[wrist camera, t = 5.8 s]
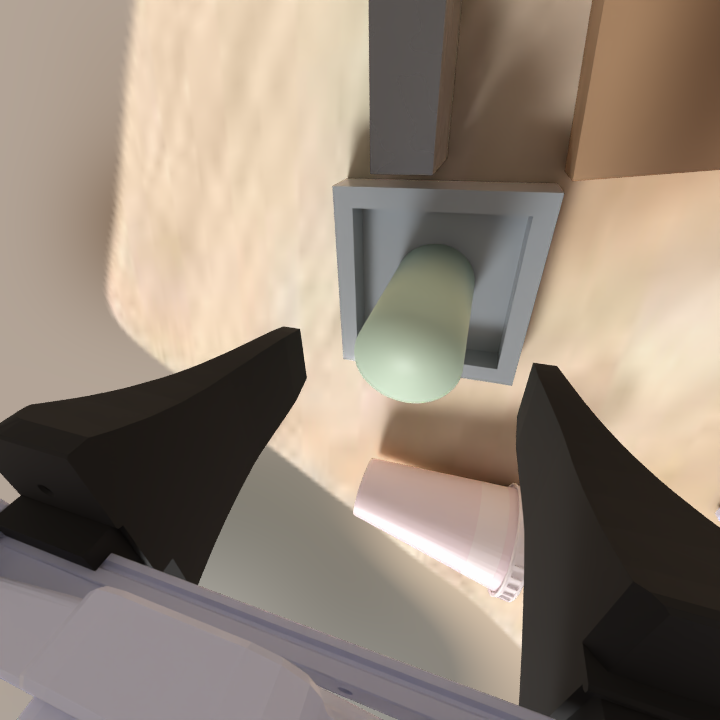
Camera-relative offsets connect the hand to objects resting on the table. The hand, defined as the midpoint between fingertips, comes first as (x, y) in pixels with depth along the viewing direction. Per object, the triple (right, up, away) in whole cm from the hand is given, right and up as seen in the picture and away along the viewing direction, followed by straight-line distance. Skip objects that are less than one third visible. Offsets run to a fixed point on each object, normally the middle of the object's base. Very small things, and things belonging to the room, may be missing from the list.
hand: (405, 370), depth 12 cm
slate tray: (+2, +4, +6) cm, 8 cm away
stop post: (+1, +11, +1) cm, 11 cm away
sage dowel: (+2, +4, +6) cm, 7 cm away
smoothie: (-1, -8, +12) cm, 15 cm away
